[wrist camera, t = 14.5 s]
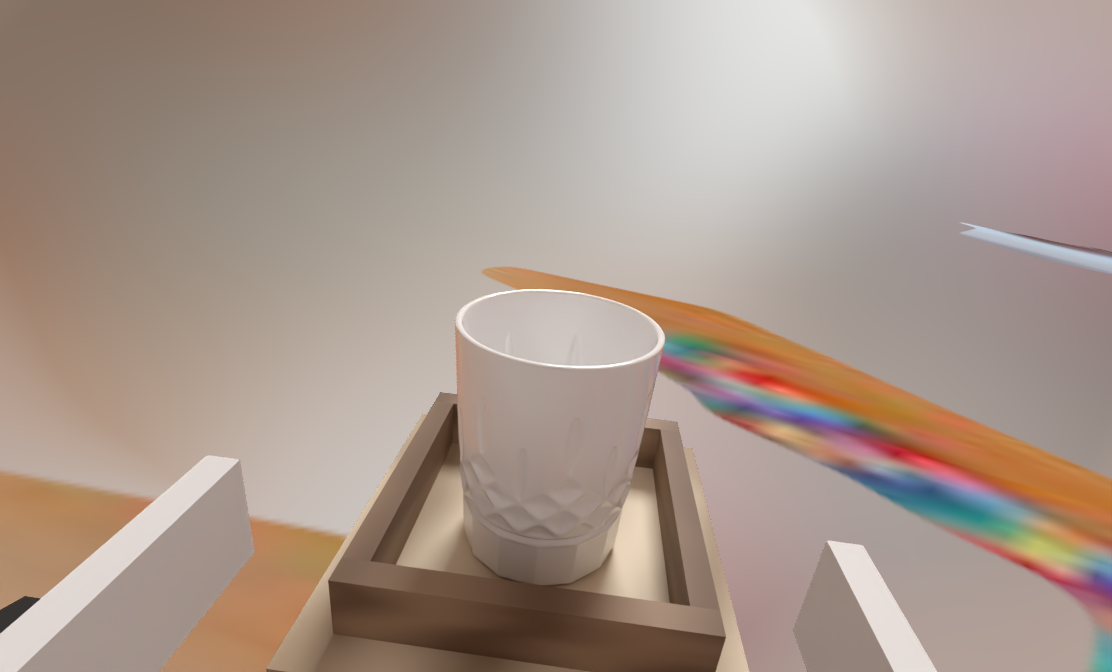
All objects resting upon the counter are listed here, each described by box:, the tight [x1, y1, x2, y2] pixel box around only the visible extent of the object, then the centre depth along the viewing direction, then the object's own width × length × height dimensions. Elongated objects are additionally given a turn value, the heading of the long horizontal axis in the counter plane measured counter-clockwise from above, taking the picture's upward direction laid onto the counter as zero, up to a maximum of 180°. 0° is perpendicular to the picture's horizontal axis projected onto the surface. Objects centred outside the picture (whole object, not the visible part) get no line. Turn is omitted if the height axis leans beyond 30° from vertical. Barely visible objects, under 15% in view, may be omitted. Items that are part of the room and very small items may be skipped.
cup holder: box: [266, 392, 749, 672], centre depth 24 cm, size 16×16×4 cm
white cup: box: [455, 290, 665, 586], centre depth 22 cm, size 8×8×10 cm
